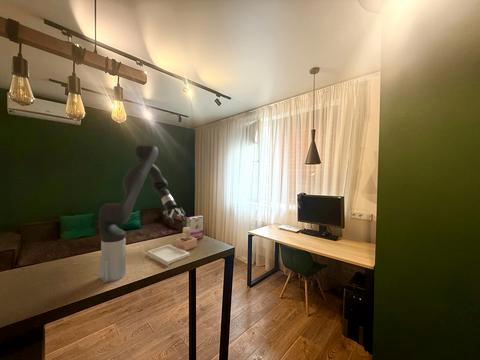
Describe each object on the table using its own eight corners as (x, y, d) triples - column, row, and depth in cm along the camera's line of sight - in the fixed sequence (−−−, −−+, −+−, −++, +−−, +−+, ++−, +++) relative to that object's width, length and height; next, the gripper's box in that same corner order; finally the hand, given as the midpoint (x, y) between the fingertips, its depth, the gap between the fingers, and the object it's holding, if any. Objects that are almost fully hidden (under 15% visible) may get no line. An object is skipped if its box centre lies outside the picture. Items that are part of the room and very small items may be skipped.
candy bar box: (199, 237, 145) (200, 215, 144) (203, 238, 141) (204, 216, 141) (186, 240, 137) (186, 217, 137) (189, 242, 134) (190, 218, 133)
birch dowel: (185, 248, 120) (186, 229, 120) (181, 246, 123) (181, 227, 122) (191, 246, 124) (191, 227, 123) (186, 244, 126) (187, 226, 126)
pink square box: (184, 252, 117) (185, 242, 117) (175, 248, 122) (175, 238, 122) (196, 247, 124) (197, 238, 124) (187, 244, 130) (187, 235, 130)
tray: (167, 266, 99) (167, 261, 99) (147, 255, 111) (147, 250, 111) (189, 257, 111) (189, 252, 110) (168, 248, 122) (169, 244, 122)
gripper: (161, 200, 126) (172, 221, 120) (180, 198, 138) (190, 217, 131) (157, 207, 129) (166, 228, 123) (175, 205, 141) (185, 223, 135)
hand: (179, 222), depth 127 cm, fingers open, 8 cm apart
